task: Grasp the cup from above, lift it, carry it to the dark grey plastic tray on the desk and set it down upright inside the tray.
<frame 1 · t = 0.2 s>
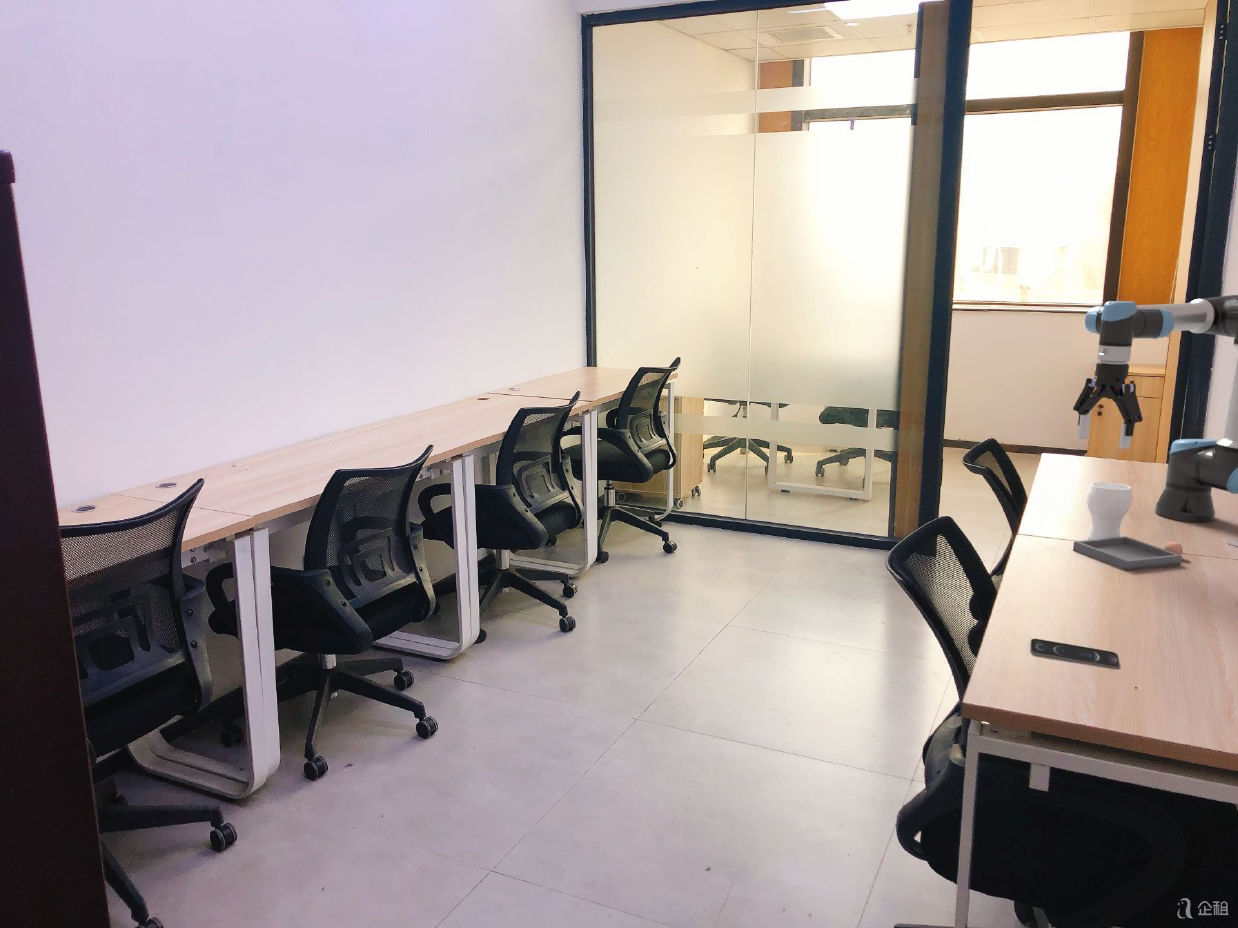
hand: (1102, 443, 242), 27 cm above the table, fingers open, 13 cm apart
tray: (1125, 557, 234), on the table
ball: (1172, 556, 235), on the table
smartphone: (1073, 657, 175), on the table
cup: (1103, 540, 249), on the table
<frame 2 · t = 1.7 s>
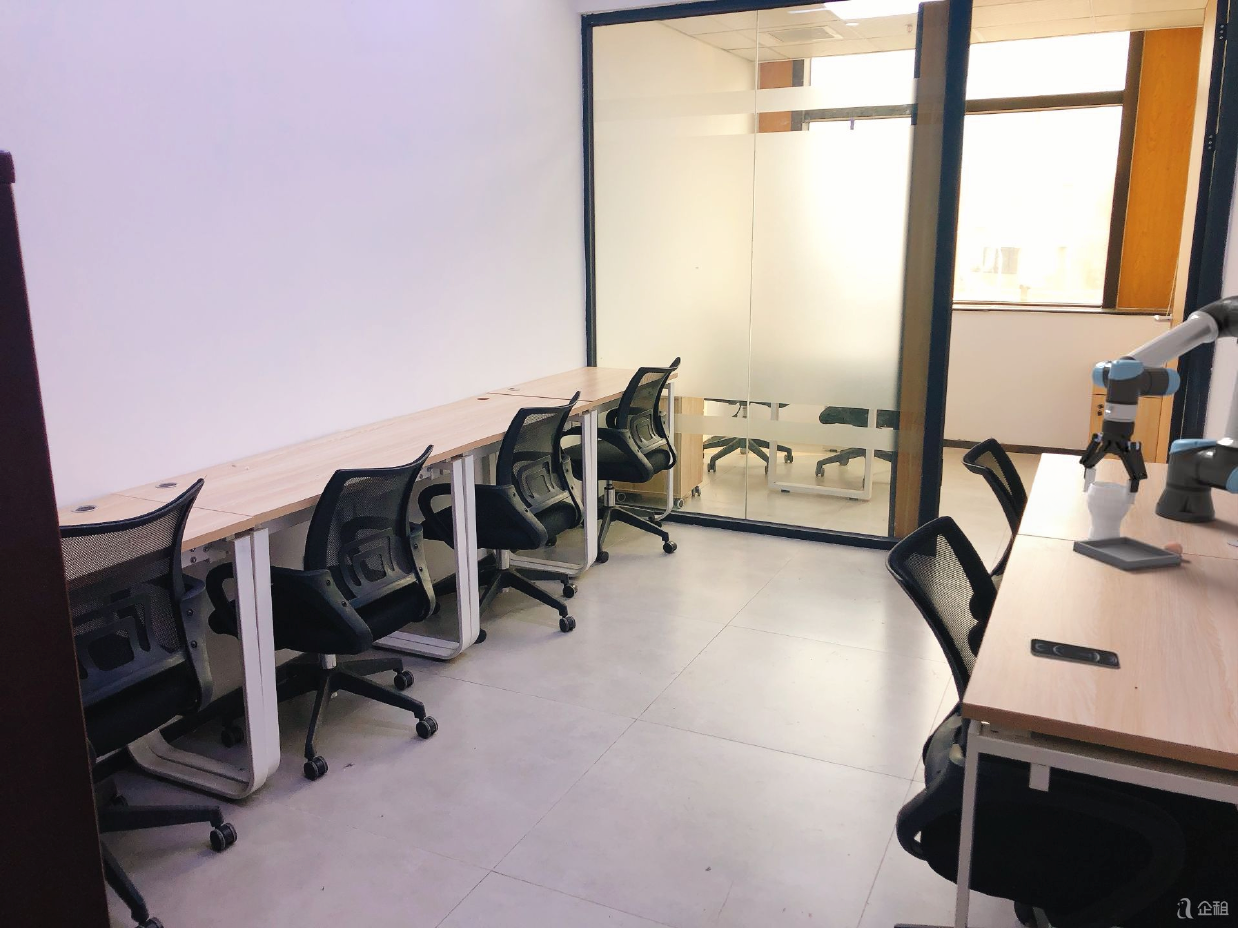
hand: (1108, 498, 246), 12 cm above the table, fingers open, 13 cm apart
nothing on the table moved.
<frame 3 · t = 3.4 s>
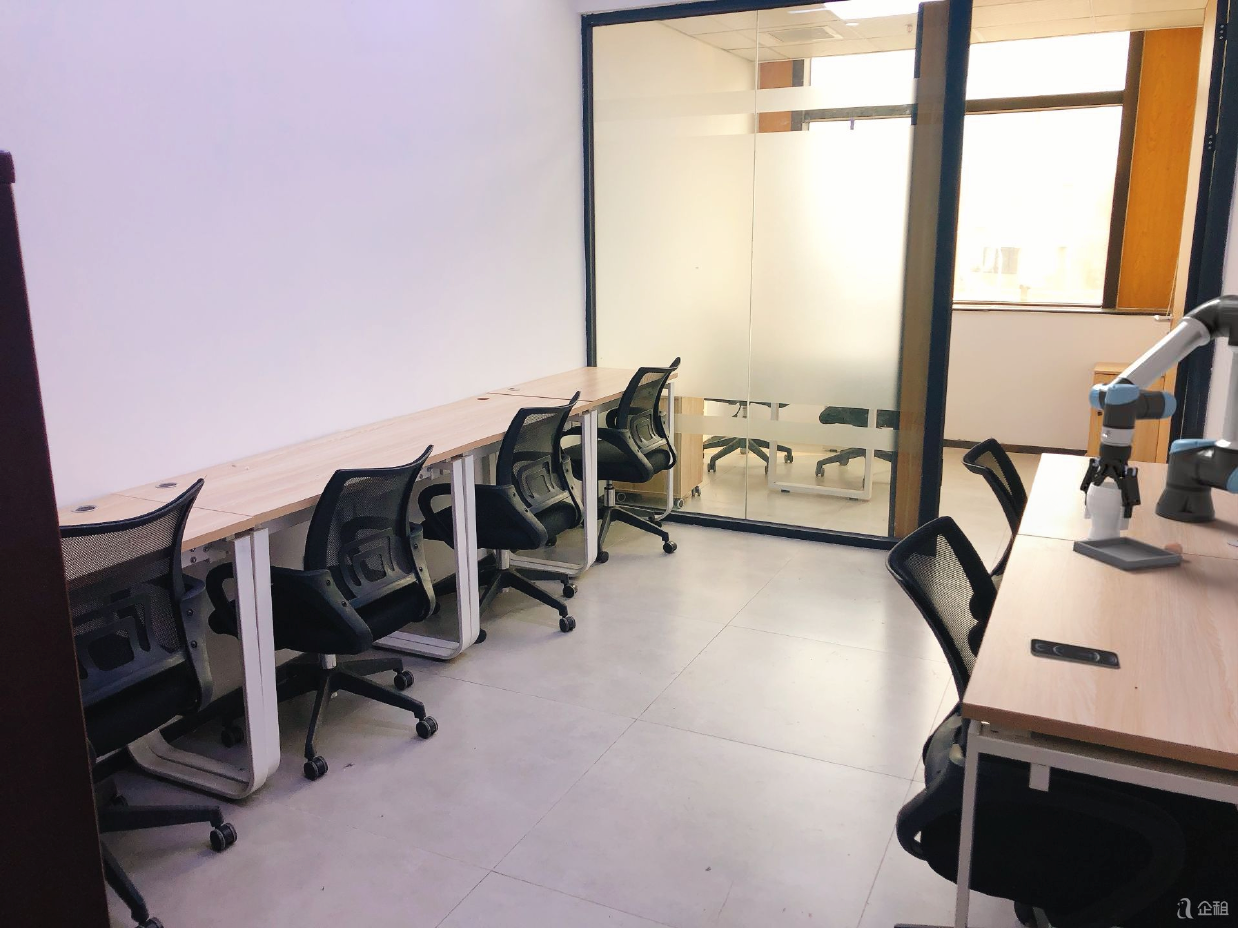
hand: (1105, 523, 248), 4 cm above the table, fingers closed on cup, 11 cm apart
cup: (1103, 540, 249), on the table, touching gripper
everything else where it was.
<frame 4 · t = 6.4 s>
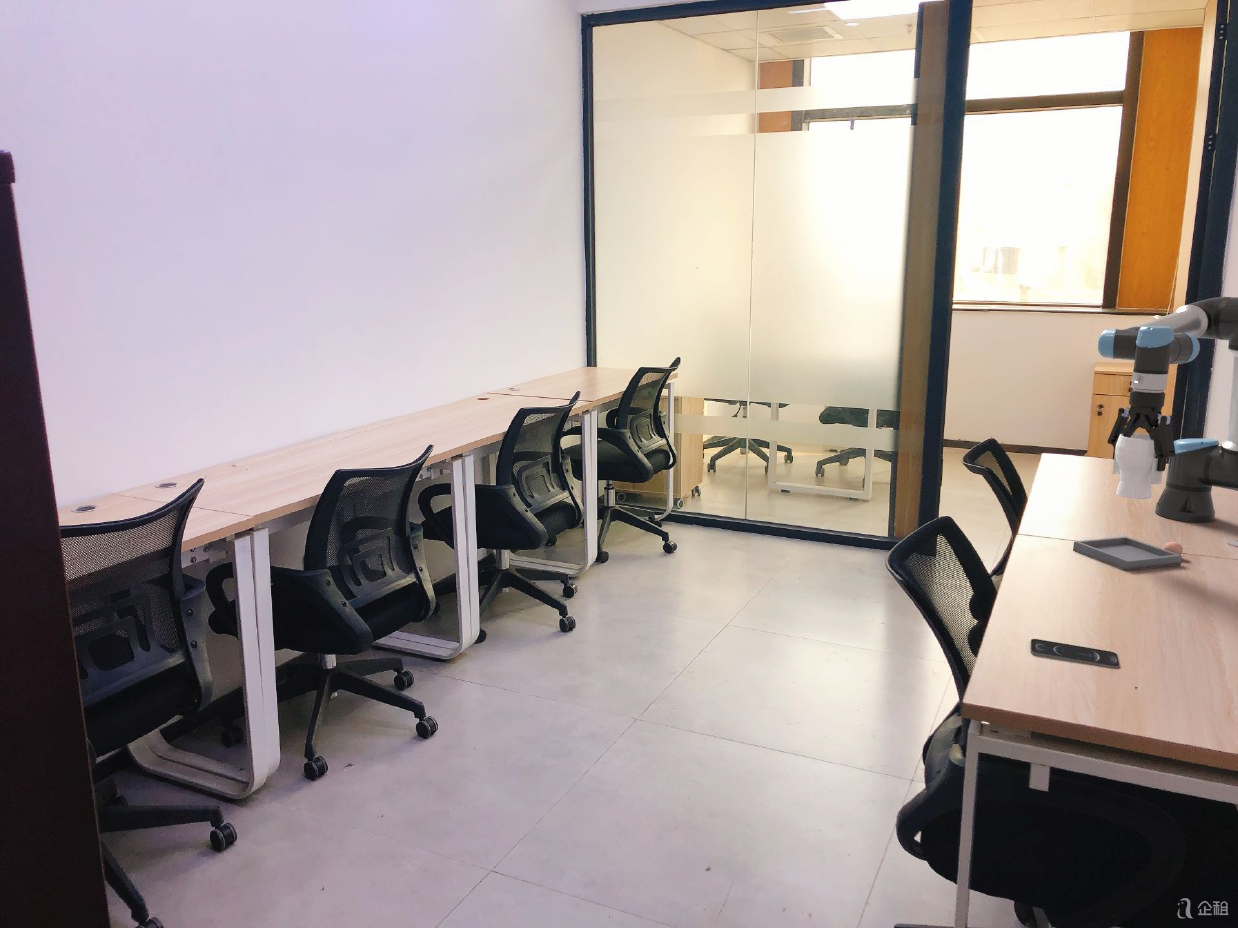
hand: (1136, 478, 229), 21 cm above the table, fingers closed on cup, 11 cm apart
cup: (1133, 496, 230), point 16 cm above the table, touching gripper
everything else where it was.
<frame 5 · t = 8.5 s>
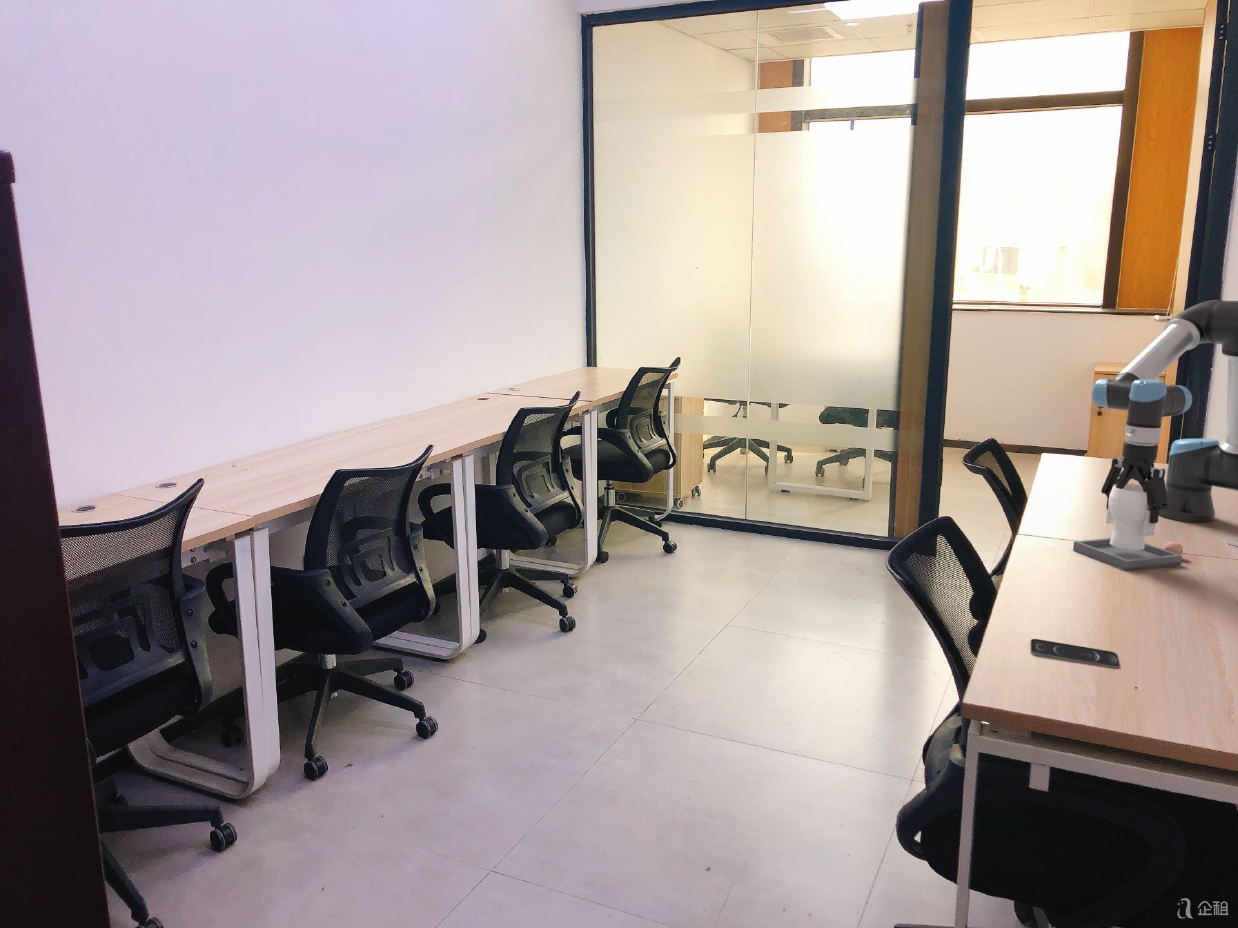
hand: (1129, 528, 232), 7 cm above the table, fingers closed on cup, 11 cm apart
cup: (1126, 546, 233), point 3 cm above the table, touching gripper
everything else where it was.
when the fingers open (7 cm above the table, at t = 9.7 s): cup drops 2 cm, resting on tray.
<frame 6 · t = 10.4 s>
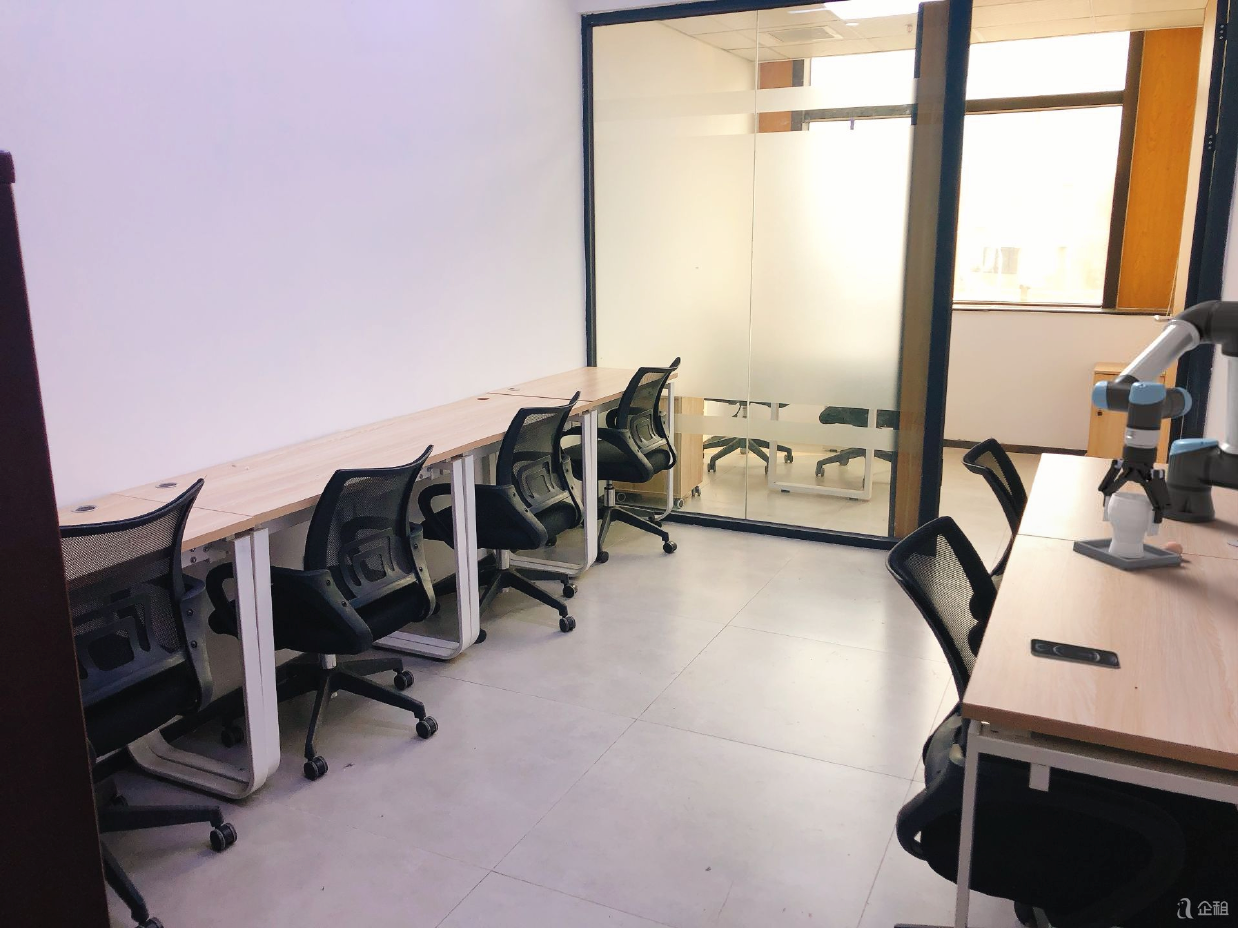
hand: (1129, 528, 232), 8 cm above the table, fingers open, 13 cm apart
cup: (1125, 554, 234), point 1 cm above the table, touching tray
everything else where it was.
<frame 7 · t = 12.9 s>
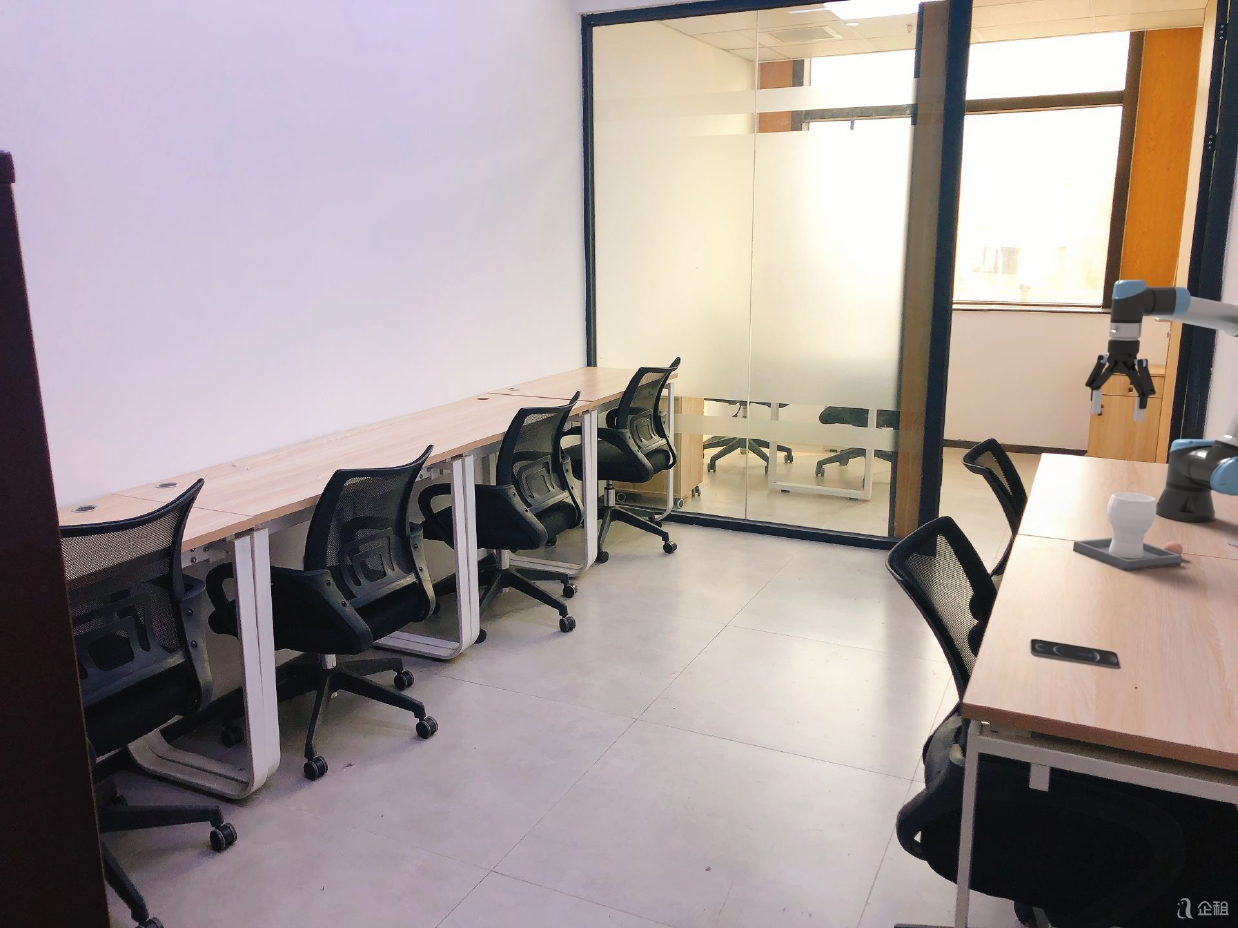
hand: (1116, 417, 251), 32 cm above the table, fingers open, 13 cm apart
nothing on the table moved.
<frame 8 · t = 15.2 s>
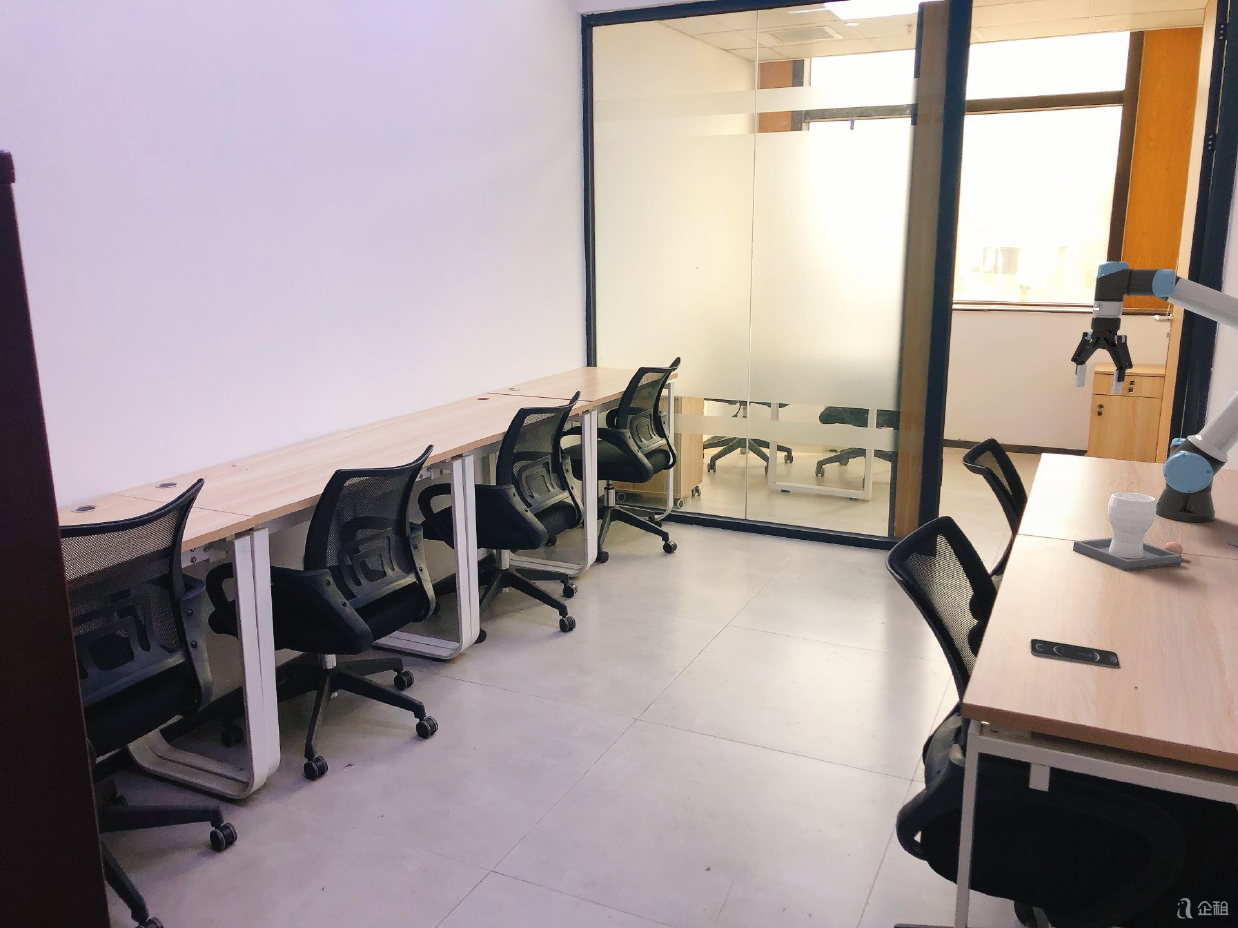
hand: (1097, 390, 269), 37 cm above the table, fingers open, 13 cm apart
nothing on the table moved.
at the end: cup inside the target area on the tray (0.1 cm from its centre), point 0.6 cm above the tray's base; cup tilted 0°; the gripper is holding nothing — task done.
